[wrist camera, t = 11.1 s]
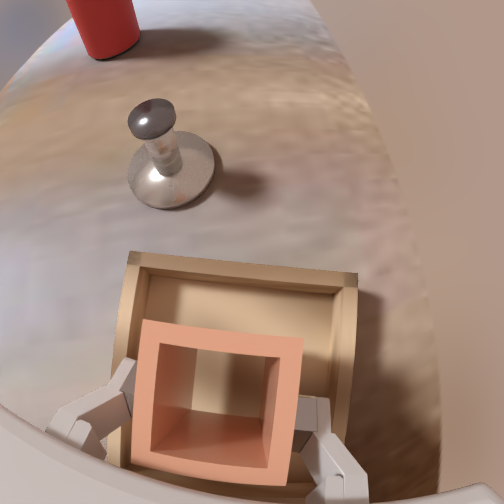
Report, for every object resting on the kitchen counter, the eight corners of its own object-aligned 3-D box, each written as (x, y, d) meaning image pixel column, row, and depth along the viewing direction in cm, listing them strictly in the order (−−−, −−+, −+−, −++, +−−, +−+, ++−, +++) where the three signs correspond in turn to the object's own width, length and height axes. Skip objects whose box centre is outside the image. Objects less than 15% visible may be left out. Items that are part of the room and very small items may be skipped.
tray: (320, 487, 15) (331, 507, 12) (125, 464, 15) (107, 479, 12) (342, 284, 19) (358, 273, 16) (145, 265, 19) (129, 250, 16)
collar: (269, 429, 14) (286, 485, 7) (178, 418, 14) (130, 463, 7) (278, 342, 15) (303, 337, 8) (187, 332, 15) (142, 319, 8)
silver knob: (207, 212, 20) (193, 161, 14) (120, 206, 20) (84, 160, 15) (220, 137, 22) (214, 79, 16) (143, 135, 22) (120, 83, 17)
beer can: (107, 67, 26) (74, -21, 14) (80, 56, 27) (49, -18, 15) (152, 36, 27) (133, -48, 16) (121, 28, 28) (100, -45, 17)
